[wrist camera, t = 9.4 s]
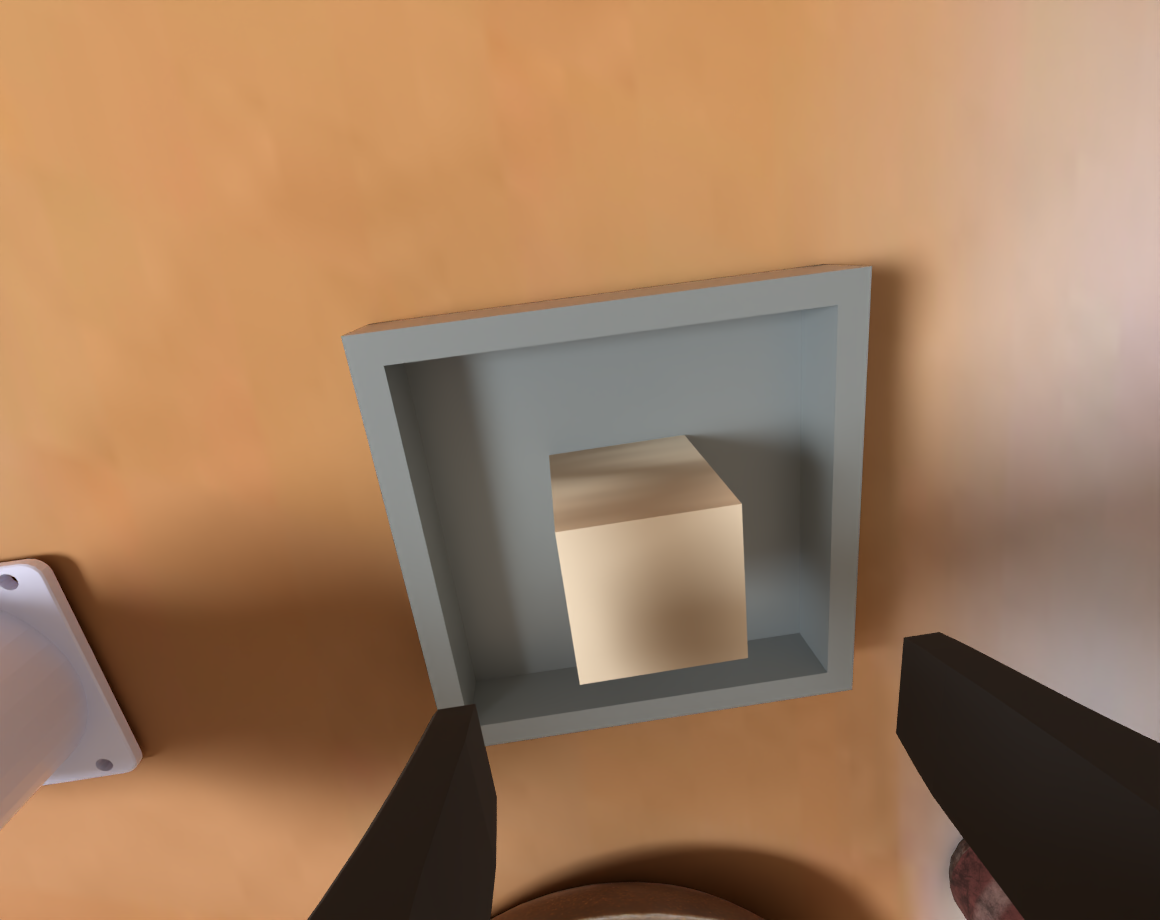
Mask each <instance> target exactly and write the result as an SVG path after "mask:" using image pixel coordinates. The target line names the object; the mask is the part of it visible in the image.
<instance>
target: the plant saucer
mask: <svg viewBox="0 0 1160 920" xmlns="http://www.w3.org/2000/svg"><path fill="white" fill-rule="evenodd" d="M491 920H765V919H763V918H761V917H759V916H758V915H756V914H754V913H752V912H750V911H748V910H746V909H744V908H742V907H740V906H738V905H736V904H733V903H731V902H729V901H727V900H724V899H721V898H719V897H716V896H713V895H711V894H708V893H705V892H701V891H698V890H694V889H690V888H686V887H680V886H675V885H670V884H660V883H649V882H614V883H601V884H591V885H586V886H580V887H575V888H571V889H566V890H562V891H558V892H554V893H551V894H547V895H544V896H541V897H539V898H536V899H533V900H531V901H528V902H525V903H523V904H520V905H518V906H516V907H514V908H512V909H510V910H508V911H506V912H504V913H502V914H500V915H498V916H496V917H494V918H493V919H491Z"/></svg>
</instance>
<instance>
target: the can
mask: <svg viewBox="0 0 1160 920" xmlns="http://www.w3.org/2000/svg"><path fill="white" fill-rule="evenodd" d="M949 878H950V888H951V891H952V894H953V897H954V900H955V902H956V904H957V905H958V907H959V908H960V910H961V911H962V913H963V914H964V916H965V918H966V919H967V920H1024V918H1023V917H1022V916H1021V914H1020V913H1019V912H1018V910H1017V909H1016V908H1015V906H1014V905H1013V904H1012V902H1011V901H1010V900H1009V898H1008V897H1007V896H1006V894H1005V893H1004V892H1003V890H1002V889H1001V888H1000V886H999V885H998V884H997V882H996V881H995V880H994V878H993V877H992V875H991V874H990V873H989V871H988V870H987V869H986V867H985V866H984V865H983V863H982V862H981V861H980V859H979V858H978V857H977V855H976V854H975V853H974V851H973V850H972V849H971V847H970V846H969V845H968V843H967V842H966V841H965V839H963V840H962V841H961V842H960V843H959V845H958V846H957V848H956V850H955V852H954V853H953V855H952V857H951V862H950V868H949Z"/></svg>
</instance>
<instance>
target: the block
mask: <svg viewBox="0 0 1160 920" xmlns="http://www.w3.org/2000/svg"><path fill="white" fill-rule="evenodd" d="M549 462H550V475H551V488H552V500H553V513H554V526H555V536H556V542H557V548H558V554H559V560H560V566H561V572H562V578H563V584H564V591H565V597H566V603H567V609H568V615H569V621H570V627H571V633H572V640H573V646H574V652H575V658H576V664H577V670H578V676H579V682H580V685H582V684H588V683H595V682H601V681H607V680H613V679H620V678H626V677H632V676H638V675H644V674H651V673H657V672H663V671H669V670H676V669H682V668H688V667H694V666H701V665H707V664H713V663H719V662H725V661H732V660H738V659H744V658H748V645H747V620H746V595H745V570H744V546H743V521H742V503H741V502H740V501H739V500H738V499H737V497H736V496H735V495H734V494H733V493H732V491H731V490H730V489H729V488H728V487H727V485H726V484H725V483H724V482H723V481H722V479H721V478H720V477H719V476H718V475H717V473H716V472H715V471H714V470H713V469H712V467H711V466H710V465H709V464H708V463H707V461H706V460H705V459H704V458H703V457H702V455H701V454H700V453H699V452H698V451H697V449H696V448H695V447H694V446H693V445H692V443H691V442H690V441H689V440H688V439H687V437H686V436H685V435H680V436H674V437H667V438H660V439H654V440H647V441H640V442H634V443H627V444H620V445H614V446H607V447H600V448H594V449H587V450H580V451H574V452H567V453H560V454H554V455H549Z"/></svg>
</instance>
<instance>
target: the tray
mask: <svg viewBox="0 0 1160 920" xmlns="http://www.w3.org/2000/svg"><path fill="white" fill-rule="evenodd" d="M871 276H872V266H856V265H828V264H821V265H814V266H806V267H799V268H791V269H783V270H776V271H768V272H761V273H753V274H745V275H738V276H730V277H723V278H715V279H708V280H700V281H692V282H685V283H677V284H670V285H662V286H654V287H647V288H639V289H632V290H624V291H616V292H609V293H601V294H594V295H586V296H578V297H571V298H563V299H556V300H548V301H540V302H533V303H525V304H518V305H510V306H503V307H495V308H487V309H480V310H472V311H465V312H457V313H449V314H442V315H434V316H427V317H419V318H411V319H404V320H396V321H389V322H381V323H373V324H368V325H366V326H364V327H361V328H359V329H357V330H354V331H352V332H350V333H347V334H345V335H343V336H341V338H342V342H343V346H344V350H345V354H346V357H347V361H348V365H349V369H350V373H351V377H352V381H353V385H354V388H355V392H356V396H357V400H358V404H359V408H360V412H361V415H362V419H363V423H364V427H365V431H366V435H367V439H368V443H369V446H370V450H371V454H372V458H373V462H374V466H375V470H376V474H377V477H378V481H379V485H380V489H381V493H382V497H383V501H384V505H385V508H386V512H387V516H388V520H389V524H390V528H391V532H392V536H393V539H394V543H395V547H396V551H397V555H398V559H399V563H400V567H401V570H402V574H403V578H404V582H405V586H406V590H407V594H408V598H409V601H410V605H411V609H412V613H413V617H414V621H415V625H416V629H417V632H418V636H419V640H420V644H421V648H422V652H423V656H424V660H425V663H426V667H427V671H428V675H429V679H430V683H431V687H432V691H433V694H434V698H435V702H436V706H437V710H438V709H444V708H451V707H457V706H464V705H470V704H476V709H477V713H478V717H479V722H480V726H481V731H482V735H483V739H484V744H485V746H490V745H497V744H503V743H510V742H516V741H523V740H529V739H536V738H542V737H549V736H555V735H562V734H568V733H574V732H581V731H587V730H594V729H600V728H607V727H613V726H620V725H626V724H633V723H639V722H646V721H652V720H659V719H665V718H672V717H678V716H685V715H691V714H697V713H704V712H710V711H717V710H723V709H730V708H736V707H743V706H749V705H756V704H762V703H769V702H775V701H782V700H788V699H795V698H801V697H808V696H814V695H820V694H827V693H833V692H840V691H846V690H852V680H853V659H854V638H855V616H856V595H857V574H858V553H859V531H860V510H861V489H862V468H863V446H864V425H865V404H866V383H867V361H868V340H869V319H870V298H871ZM680 435H685V436H686V437H687V439H688V440H689V441H690V442H691V443H692V445H693V446H694V447H695V448H696V449H697V451H698V452H699V453H700V454H701V455H702V457H703V458H704V459H705V460H706V461H707V463H708V464H709V465H710V466H711V467H712V469H713V470H714V471H715V472H716V473H717V475H718V476H719V477H720V478H721V479H722V481H723V482H724V483H725V484H726V485H727V487H728V488H729V489H730V490H731V491H732V493H733V494H734V495H735V496H736V497H737V499H738V500H739V501H740V502H741V503H742V521H743V546H744V570H745V595H746V620H747V645H748V658H744V659H738V660H732V661H725V662H719V663H713V664H707V665H701V666H694V667H688V668H682V669H676V670H669V671H663V672H657V673H651V674H644V675H638V676H632V677H626V678H620V679H613V680H607V681H601V682H595V683H588V684H582V685H580V682H579V676H578V670H577V664H576V658H575V652H574V646H573V640H572V633H571V627H570V621H569V615H568V609H567V603H566V597H565V591H564V584H563V578H562V572H561V566H560V560H559V554H558V548H557V542H556V536H555V526H554V513H553V500H552V488H551V475H550V462H549V455H554V454H560V453H567V452H574V451H580V450H587V449H594V448H600V447H607V446H614V445H620V444H627V443H634V442H640V441H647V440H654V439H660V438H667V437H674V436H680Z"/></svg>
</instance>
